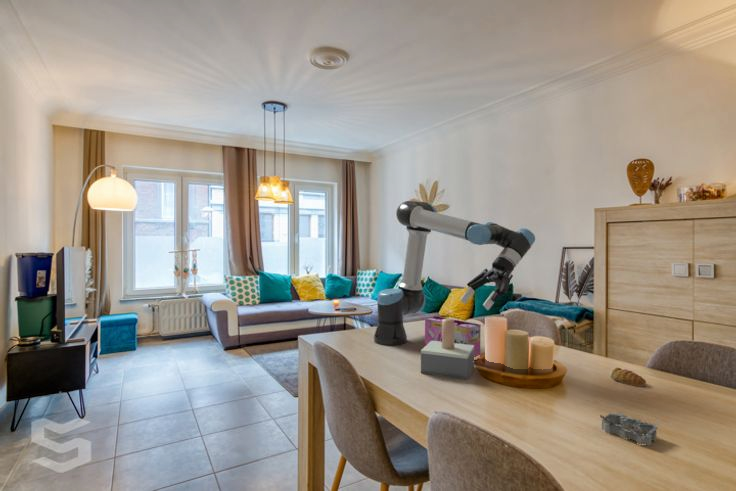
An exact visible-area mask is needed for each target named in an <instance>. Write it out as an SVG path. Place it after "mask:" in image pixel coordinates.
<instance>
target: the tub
mask: <svg viewBox="0 0 736 491" xmlns="http://www.w3.org/2000/svg"><path fill="white" fill-rule="evenodd" d="M473 361H474V349H473V351H472V352H471V354H470V355H469V357H468V359H465V358H456V357H448V356H440V355H432V354H424V353H421V352H420V374H426V375H432V376H439V377H447V378H452V379H460V380H468V379H469V377H470V375H471V373H472V372H473V370H474V368H475V361H474V362H473Z"/></svg>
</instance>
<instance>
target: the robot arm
mask: <svg viewBox="0 0 736 491" xmlns="http://www.w3.org/2000/svg"><path fill="white" fill-rule="evenodd" d="M395 213H396V219H397V220H398V222H399V223H400V224H401V225H402V226H405V227H406V231H407V232H408V238H407V245H406V252H405V260H404V261H405V262H404V268H403V276H402V282H400V283H399V284H398V288H396V287H395V288H393V287H392V288H386V289H383V290H380V291H379V292H378V294H377V301H376V302H377V326H376V329H375V332H374V336H373V340H374V343H375V344H378V345H382V346H383V345H385V346H386V345H387V346H398V345H399V346H400V345H403V344H406V343H407V342H408V335H407V333H406V329H405V325H404V316H407V315H414V314H417V313H418V312H420V311H422V310H423V309H424V307H425V304H426V300H427V299H426V295H425V293H424V291H423V290H424V289H423V286H422V285H421V283H422V275H423V273H422V272H423V268H424V260H425V259H424V258H425V253H426V252H425V251H426V245H427V240H428V238H427V237H428V236H429V234H431V232H432V231H433V232H437V233H440V234H443V235H447V236H452V237H455V238H458V239H461V240H465V241H468V242H470V243H471V244H473V245H477V246H483V245H497V246H499V247H502V248H503V249H502V250H501V251H500V253H499V254H498V255H497V257H496V258H495V260H493V262H492V264H491V269H489V270H488V268H484V269H483V270H482V271H481V272H480V273H479V274H478V275H477V276H475V277H474V278H473V279H471V280H470V281H469V282H468V283H467V284H466V285H467V287H468V288H467V289H466V290H465V292H464V293H463V295H462V296H461V297H460V298H459V300H460V301H461V303H462V304H464V305H466V304H467V302H468V301H470V299H471V298H472V296H473V295H474V294H475V293H476V290H477V289H479V288H481V287H482V286H484V285H486V284H489V283H495V285H494V286H495V288H494V290H492V292H491V293H490V294H489V295H488V297H487V298H486V300H485V301H484V302H483V304H482V306H483V308H484V309H486V310H487V311H489V310H490V309H491V308H492V306H493V305H494V303H496V302H497V300H498V299H499V298H500V297H502V296H506V295H508V290H509V287H510V283H511V280H512V278H513V277H514V275H513V274H512V273H513V271H514V270H515V268H516V267H517V265H518V264H519V263H520V262H521V260H522V259H523V258H524V256H525V255H526V254H527V252H528V251H530V249H531V248H532V246H533V244H534V243H535V241H536V236H535V234H534V233H533V232H532V231H531V230H530V229H528V228H519V229H518V230H516V231H515V230H513V229H509V228H506V227H505V226H502V225H499V224H498V223H495V222H492V221H488V222H486V223H485V224H484V223H480V222H479V223H478V222H474V221H471V220H467V219H462V218H459V217H454V216H451V215H447V214H443V213H439V212H438V211H437V208H435V206H434V205H433V204H432V203H429V202H425V201H417V200H416V201H414V200H406V201H402V203H400V204H399V205H398V207H397V209H396V212H395Z"/></svg>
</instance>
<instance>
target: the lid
mask: <svg viewBox="0 0 736 491" xmlns="http://www.w3.org/2000/svg"><path fill="white" fill-rule="evenodd" d="M454 320H455V319H454V318H448V319H442V342H439V341H430V342H429V343H428V344H427V345H426V346H425V345H424V347H422V348H421V349H420V354H421V353H424V354H432V355H440V356H448V357H456V358H465V359H468V357H469V355H470V354H471V352H472V351H473V349H474V345H467V344H458V343H454Z"/></svg>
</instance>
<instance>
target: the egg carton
mask: <svg viewBox="0 0 736 491" xmlns="http://www.w3.org/2000/svg"><path fill="white" fill-rule="evenodd" d="M600 418H601V419H602V420H601V430H603V431H604V430H605V431H604V433H606V432H607V433H606V434H608V433H609V435H610V433H613V434H612V435H617V434H618V435H617V436H619V435H620V436H619V437H621V438H620V439H622V438H625V439H626V438H627V439H626V440H630V439H633V440H635V441H636V442H637V443H638V444H641V445H642V444H646V445H651V446H652V441H651V440H654V441H653V442H656V441H657V437H658V436H657V431H658V428H659V424H656V423H654V424H653V423H651V422H649V423H648V422H646V421H642V420H641V419H640V418H639V419H638V418H633V417H629V416H628V415H625V414H624V413H622V412H611V413H608V415H605V416H604V415H603V414H600ZM623 428H624V429H623ZM626 429H630V430H626ZM614 433H615V434H614ZM642 434H644V435H642ZM646 434H647V435H646ZM625 439H624V440H625ZM633 440H632V441H633ZM635 441H634V442H635ZM636 442H635V443H636ZM637 443H636V444H637ZM638 444H637V445H638ZM641 445H640V446H641ZM646 445H645V446H646Z"/></svg>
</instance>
